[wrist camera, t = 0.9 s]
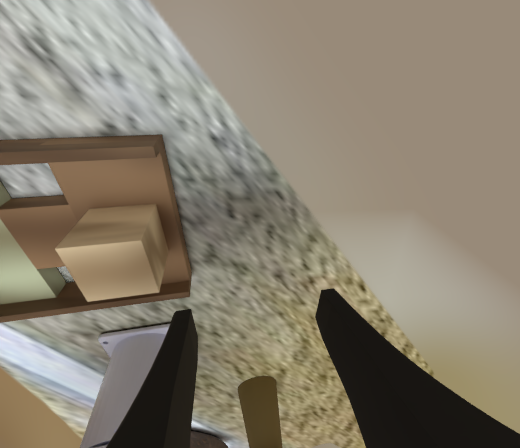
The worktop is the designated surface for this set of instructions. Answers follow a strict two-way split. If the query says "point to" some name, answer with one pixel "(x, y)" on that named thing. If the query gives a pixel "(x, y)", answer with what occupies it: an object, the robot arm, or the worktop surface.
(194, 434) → the perforated stone tool
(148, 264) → the maple cube
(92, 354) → the worktop surface
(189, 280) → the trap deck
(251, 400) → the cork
